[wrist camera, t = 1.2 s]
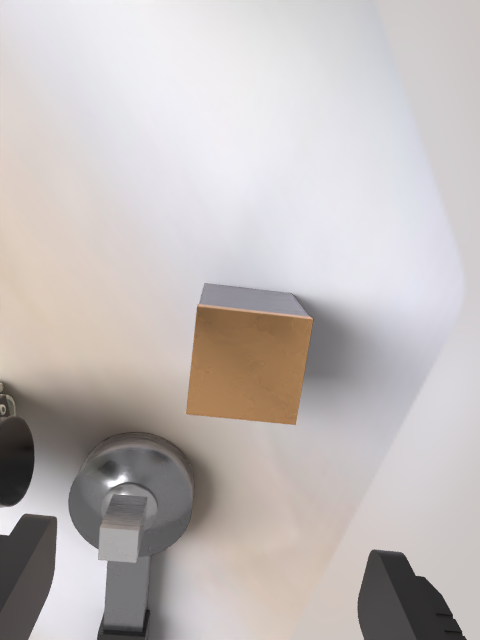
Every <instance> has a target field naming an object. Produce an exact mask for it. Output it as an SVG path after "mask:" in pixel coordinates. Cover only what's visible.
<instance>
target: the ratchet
mask: <svg viewBox="0 0 480 640" xmlns="http://www.w3.org/2000/svg"><path fill="white" fill-rule="evenodd" d="M193 494H194V475H193V471H192V468H191V466H190V463H189V461H188V460H187V458H186V457H185V455H184V454H183V453H182V452H181V451H180V450H179V449H178V448H177V447H176V446H175V445H173V444H172V443H171V442H169V441H167V440H165V439H164V438H161V437H159V436H156V435H153V434H149V433H142V432H130V433H123V434H118V435H115V436H112V437H110V438H108V439H106V440H104V441H103V442H101V443H100V444H98V445H97V446H96V447H95V448H94V449H93V450H92V451H91V452H90V454H89V455H88V457H87V458H86V460H85V462H84V464H83V465H82V467H81V469H80V471H79V473H78V474H77V476H76V478H75V480H74V482H73V484H72V486H71V489H70V493H69V501H68V502H69V512H70V516H71V519H72V522H73V524H74V526H75V528H76V529H77V530H78V532H79V533H80V535H81V536H82V537H83V538H84V539H85V540H86V541H88V542H89V543H90V544H91V545H93V546H94V547H96V548H97V549H99V553H98V560H106V561H108V563H107V579H106V595H105V611H104V614H103V618H102V621H101V624H100V628H99V631H98V637H97V640H148V629H149V618H150V611H149V610H146V608H147V597H148V586H149V575H150V564H151V555H153V554H156V553H158V552H161V551H163V550H165V549H166V548H168V547H170V546H171V545H172V544H173V543H175V542H176V541H177V540H178V539H179V538H180V537H181V535H182V534H183V533H184V531H185V530H186V528H187V526H188V523H189V521H190V517H191V512H192V503H193Z"/></svg>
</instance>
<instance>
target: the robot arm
mask: <svg viewBox="0 0 480 640" xmlns="http://www.w3.org/2000/svg"><path fill="white" fill-rule="evenodd" d="M56 536H57V518H56V517H53V516H43V515H33V514H24V515H23V516H22V517H21V518H20V520H19V521H18V523H17V524H16V526H15V527H14V529H13V530H12V532H11V534H10V535H9V536H7V535H0V640H28V638H29V636H30V634H31V632H32V630H33V627H34V625H35V623H36V621H37V619H38V616H39V614H40V612H41V610H42V608H43V605H44V603H45V601H46V599H47V596H48V594H49V591H50V588H51V584H52V580H53V576H54V570H55V554H56ZM358 618H359V624H360V628H361V630H362V634H363V637H364V640H467V639H466V638H465V636H463V635H462V631H461V629H460V627H459V625H458V623H457V622H456V620H455V619H453V614H452V613H451V611H450V609H449V607H448V606H447V604H446V602H445V600H444V598H443V596H442V595H441V594H440V593H439V592H438V591H437V590H436V589H435V588H434V587H433V585H432V584H431V583H429V581H428V580H426V578H425V577H421V576H415V574H414V572H413V570H412V568H411V566H410V564H409V562H408V560H407V558H406V557H405V555H404V554H403V553H401V552H393V551H383V550H372V551H371V552H370V555H369V558H368V561H367V566H366V569H365V573H364V577H363V581H362V585H361V589H360V593H359V597H358Z"/></svg>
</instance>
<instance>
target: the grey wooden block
mask: <svg viewBox="0 0 480 640" xmlns="http://www.w3.org/2000/svg"><path fill="white" fill-rule="evenodd" d="M312 325H313V318H312V317H309V315H308V314H307V313H306V312H305V310H304V309H303V308H302V306H301V305H300V304H299V302H298V301H297V300H296V299H295V297H294V296H293V295H292V293H284V292H275V291H266V290H258V289H249V288H241V287H232V286H224V285H215V284H206V283H204V287H203V291H202V295H201V299H200V302H199V304H198V305H197V314H196V323H195V333H194V343H193V353H192V362H191V372H190V382H189V391H188V401H187V411H186V414H190V415H200V416H210V417H220V418H231V419H241V420H251V421H261V422H271V423H282V424H292V425H296V420H297V414H298V408H299V402H300V396H301V390H302V384H303V378H304V372H305V366H306V360H307V354H308V348H309V342H310V336H311V331H312Z"/></svg>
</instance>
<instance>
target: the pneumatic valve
mask: <svg viewBox="0 0 480 640" xmlns="http://www.w3.org/2000/svg"><path fill="white" fill-rule="evenodd" d="M2 391H3V384H2V383H0V392H2ZM33 468H34V443H33V438H32V434H31V431H30V429H29V427H28V425H27V423H26V422H25V421H24V420H23V419H22V418H20V417H18V416H16V407H15V403H14V400H13V398H12V397H11V396H10V395H4V394H0V508H2V507H11V506H14V505H16V504H17V503H18V502H20V501H21V499H22V498H23V497H24V495H25V494H26V492H27V490H28V487H29V485H30V482H31V479H32V474H33Z"/></svg>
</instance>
